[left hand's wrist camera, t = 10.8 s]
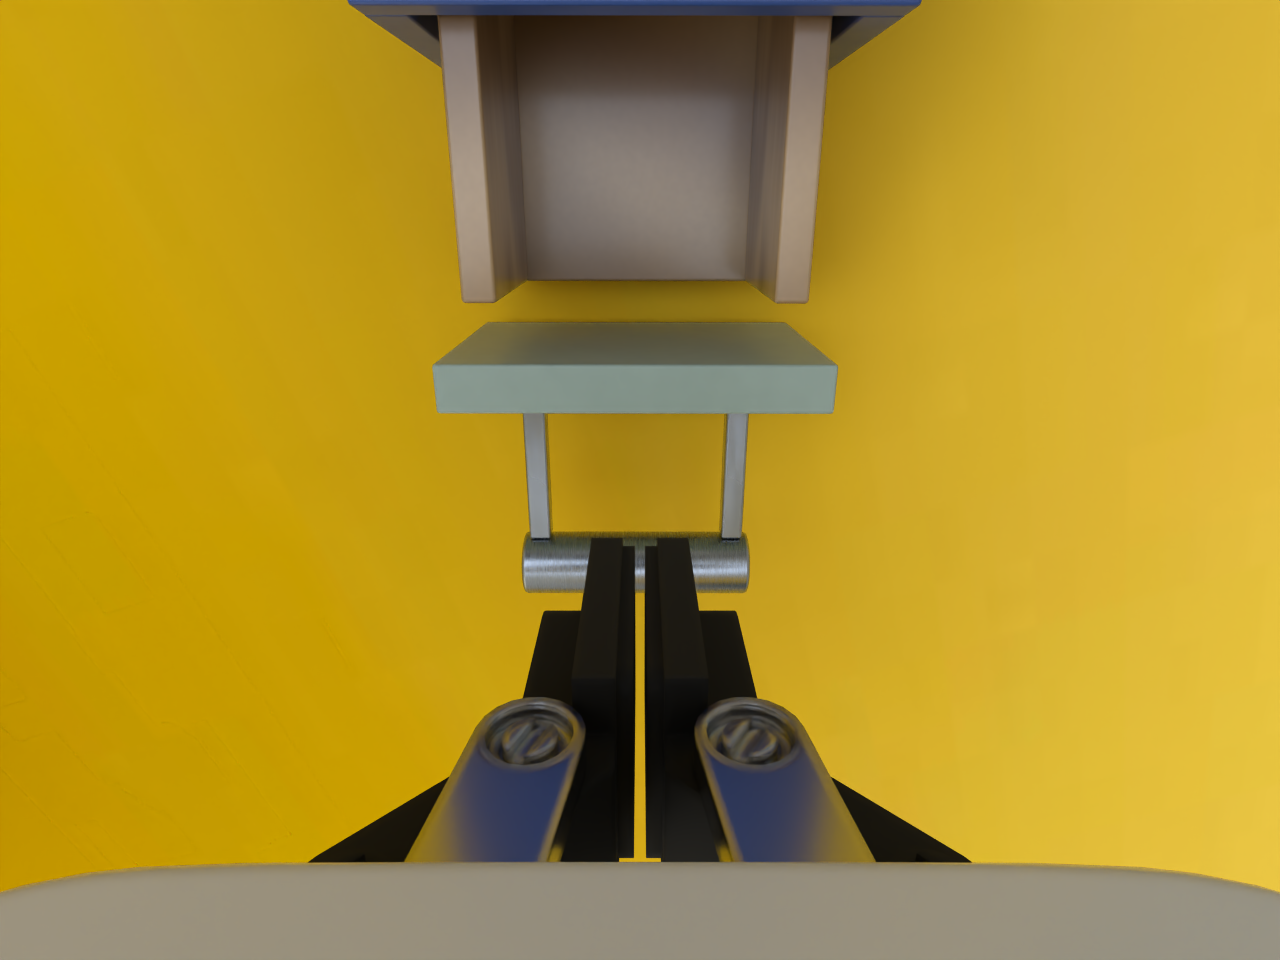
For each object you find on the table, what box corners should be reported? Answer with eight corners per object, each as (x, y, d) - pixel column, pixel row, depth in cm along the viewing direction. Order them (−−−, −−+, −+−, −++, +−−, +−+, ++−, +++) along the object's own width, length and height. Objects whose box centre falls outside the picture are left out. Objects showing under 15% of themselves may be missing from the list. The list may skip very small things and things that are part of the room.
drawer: (770, 530, 25) (811, 632, 19) (502, 529, 25) (459, 631, 19) (818, -119, 19) (904, -274, 13) (453, -120, 19) (363, -274, 13)
